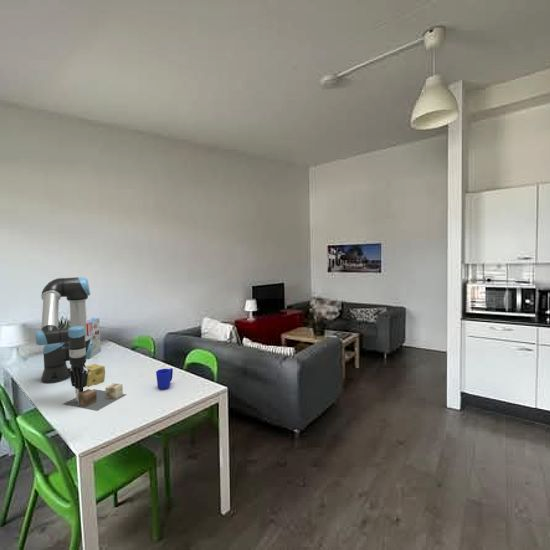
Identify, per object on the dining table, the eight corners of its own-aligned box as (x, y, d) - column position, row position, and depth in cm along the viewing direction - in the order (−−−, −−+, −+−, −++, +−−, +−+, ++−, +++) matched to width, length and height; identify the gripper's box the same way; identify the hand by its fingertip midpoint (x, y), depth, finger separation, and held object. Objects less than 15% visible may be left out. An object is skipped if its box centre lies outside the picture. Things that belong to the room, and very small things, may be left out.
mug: (178, 383, 199) (177, 367, 198) (165, 391, 188) (164, 374, 187) (166, 381, 202) (166, 365, 201) (153, 389, 190) (152, 372, 190)
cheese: (88, 387, 194) (88, 371, 193) (79, 383, 200) (78, 367, 199) (105, 381, 203) (105, 365, 202) (96, 378, 208) (95, 363, 208)
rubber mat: (61, 404, 171) (61, 404, 171) (94, 389, 190) (94, 389, 190) (97, 411, 164) (97, 410, 164) (127, 395, 183) (127, 394, 183)
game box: (94, 351, 267) (92, 318, 265) (101, 350, 268) (99, 318, 266) (81, 359, 246) (80, 323, 245) (89, 359, 247) (87, 323, 245)
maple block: (105, 398, 178) (105, 387, 178) (112, 393, 184) (112, 383, 183) (116, 399, 177) (115, 388, 177) (122, 394, 183) (122, 383, 183)
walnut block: (77, 393, 170) (86, 395, 168) (87, 389, 176) (96, 390, 174) (78, 404, 170) (87, 406, 168) (88, 399, 176) (96, 401, 174)
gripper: (61, 357, 171) (64, 400, 172) (80, 359, 167) (82, 404, 168) (74, 352, 178) (76, 395, 180) (93, 355, 174) (95, 398, 175)
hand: (79, 399), depth 174 cm, fingers closed
